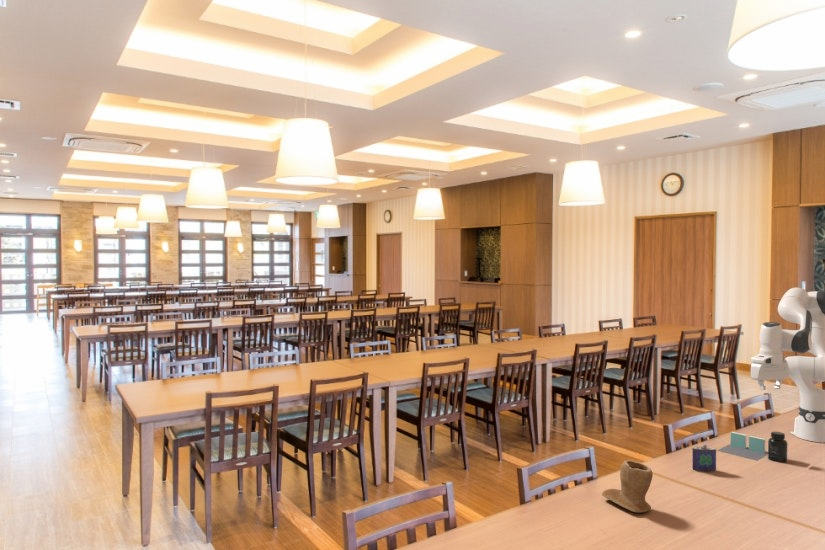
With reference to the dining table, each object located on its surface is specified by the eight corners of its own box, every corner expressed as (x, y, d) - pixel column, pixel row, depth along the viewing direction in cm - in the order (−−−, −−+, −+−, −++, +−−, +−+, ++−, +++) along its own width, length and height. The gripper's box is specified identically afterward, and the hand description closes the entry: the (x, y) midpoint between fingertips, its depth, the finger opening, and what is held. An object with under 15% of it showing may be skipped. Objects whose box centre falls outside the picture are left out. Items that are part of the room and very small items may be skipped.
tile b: (731, 444, 251) (732, 431, 251) (746, 448, 246) (746, 434, 246) (730, 445, 250) (730, 432, 250) (745, 448, 245) (745, 435, 245)
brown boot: (660, 511, 184) (660, 467, 184) (633, 517, 179) (634, 472, 179) (626, 494, 198) (626, 452, 198) (600, 499, 193) (601, 457, 193)
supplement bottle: (791, 464, 228) (791, 435, 228) (774, 463, 228) (775, 435, 228) (780, 458, 235) (780, 430, 235) (764, 458, 235) (764, 430, 235)
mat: (731, 444, 253) (731, 443, 253) (770, 453, 240) (770, 452, 240) (716, 451, 243) (716, 450, 243) (757, 462, 230) (757, 460, 230)
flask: (714, 469, 222) (714, 443, 222) (717, 471, 219) (718, 445, 219) (691, 468, 223) (691, 442, 222) (694, 471, 220) (694, 445, 220)
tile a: (750, 449, 245) (750, 435, 245) (765, 452, 240) (765, 439, 240) (748, 449, 244) (748, 436, 244) (763, 453, 239) (764, 439, 239)
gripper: (779, 356, 252) (779, 386, 252) (748, 358, 245) (747, 389, 245) (793, 358, 246) (793, 389, 246) (761, 360, 239) (760, 392, 239)
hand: (770, 389), depth 245 cm, fingers open, 8 cm apart
